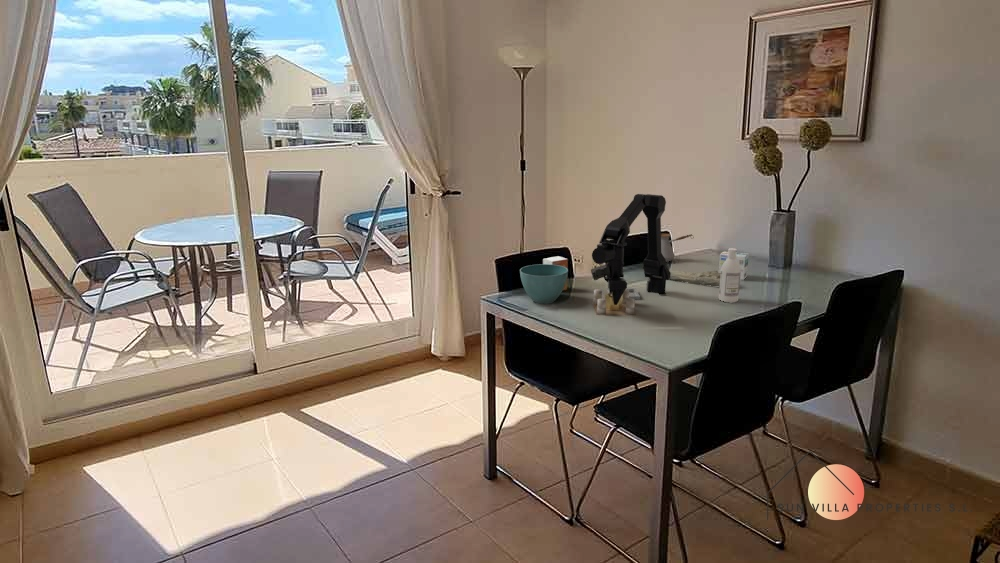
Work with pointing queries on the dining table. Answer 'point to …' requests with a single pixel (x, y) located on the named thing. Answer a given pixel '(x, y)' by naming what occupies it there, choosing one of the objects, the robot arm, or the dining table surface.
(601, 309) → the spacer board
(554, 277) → the teal bowl
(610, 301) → the nut
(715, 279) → the elongated rock
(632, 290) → the tray
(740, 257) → the light bulb box
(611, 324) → the dining table surface
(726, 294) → the bath foam
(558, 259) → the small box
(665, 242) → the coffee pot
